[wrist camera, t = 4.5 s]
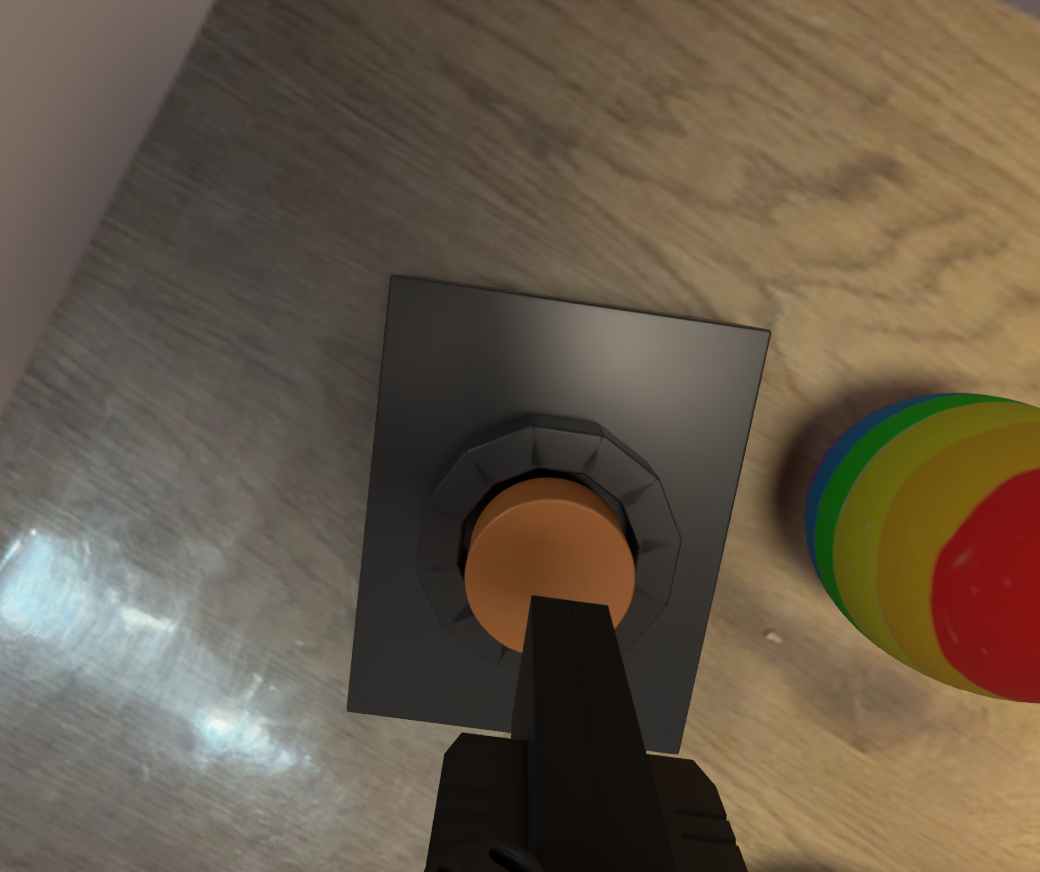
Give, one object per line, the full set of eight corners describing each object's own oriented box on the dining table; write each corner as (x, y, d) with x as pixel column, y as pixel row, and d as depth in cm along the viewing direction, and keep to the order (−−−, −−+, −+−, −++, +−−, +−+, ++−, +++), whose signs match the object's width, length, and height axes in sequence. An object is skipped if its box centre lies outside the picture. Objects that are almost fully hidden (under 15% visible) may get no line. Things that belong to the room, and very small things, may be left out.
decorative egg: (942, 632, 25) (1205, 852, 16) (736, 559, 25) (875, 739, 15) (1055, 426, 24) (1428, 528, 14) (837, 343, 23) (1067, 386, 13)
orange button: (481, 466, 19) (475, 487, 17) (637, 488, 19) (650, 511, 17) (461, 611, 20) (454, 646, 18) (610, 631, 20) (620, 668, 18)
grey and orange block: (408, 275, 23) (377, 272, 18) (739, 323, 23) (797, 334, 18) (367, 660, 26) (330, 748, 21) (660, 698, 26) (692, 795, 21)
